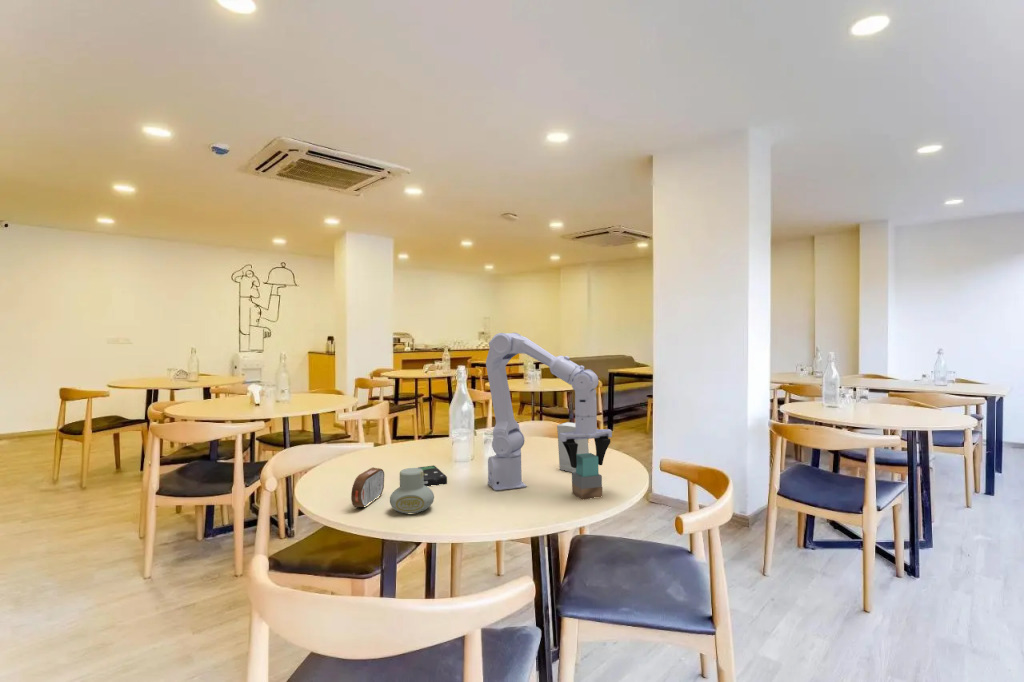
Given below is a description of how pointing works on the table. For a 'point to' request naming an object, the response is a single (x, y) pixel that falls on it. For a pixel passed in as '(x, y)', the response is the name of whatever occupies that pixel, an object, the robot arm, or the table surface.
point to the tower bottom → (586, 492)
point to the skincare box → (563, 455)
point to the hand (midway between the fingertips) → (586, 465)
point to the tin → (367, 487)
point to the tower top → (586, 481)
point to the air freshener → (411, 492)
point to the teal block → (587, 465)
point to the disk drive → (433, 476)
